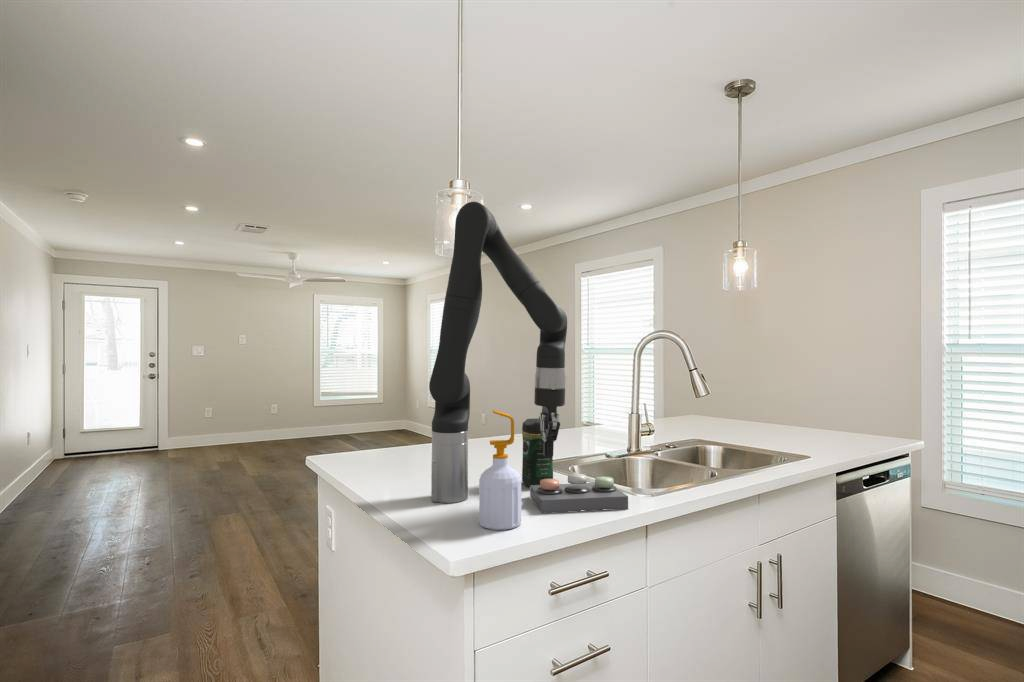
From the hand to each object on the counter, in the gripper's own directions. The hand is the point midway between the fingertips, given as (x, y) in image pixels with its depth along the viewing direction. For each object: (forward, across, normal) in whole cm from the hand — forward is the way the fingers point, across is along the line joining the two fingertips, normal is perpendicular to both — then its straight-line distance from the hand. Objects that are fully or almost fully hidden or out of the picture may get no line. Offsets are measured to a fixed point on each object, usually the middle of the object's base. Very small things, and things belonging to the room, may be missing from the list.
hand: (548, 456), depth 129 cm
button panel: (+11, 0, +8) cm, 14 cm away
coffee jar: (+12, -19, +2) cm, 22 cm away
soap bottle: (+12, +13, -13) cm, 22 cm away
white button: (+6, 0, +7) cm, 10 cm away
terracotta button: (+8, 0, +1) cm, 8 cm away
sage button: (+7, 0, +15) cm, 16 cm away
